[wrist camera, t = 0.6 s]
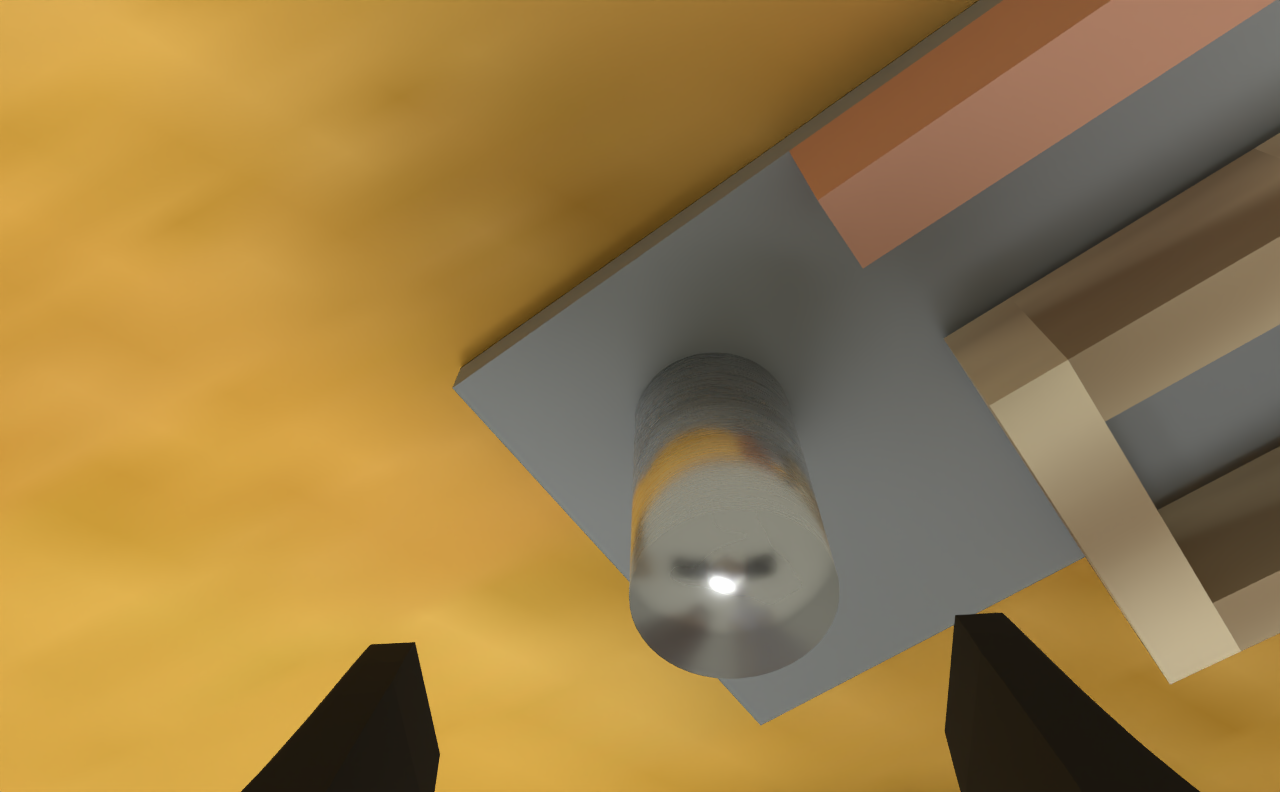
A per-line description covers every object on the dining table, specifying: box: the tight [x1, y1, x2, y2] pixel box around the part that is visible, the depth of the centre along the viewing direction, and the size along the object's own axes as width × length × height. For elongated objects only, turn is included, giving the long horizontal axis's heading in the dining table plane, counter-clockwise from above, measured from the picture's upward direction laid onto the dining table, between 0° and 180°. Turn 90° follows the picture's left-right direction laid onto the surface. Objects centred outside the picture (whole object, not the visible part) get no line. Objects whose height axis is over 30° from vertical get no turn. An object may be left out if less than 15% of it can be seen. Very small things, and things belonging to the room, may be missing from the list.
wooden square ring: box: [943, 133, 1280, 684], centre depth 19 cm, size 8×8×3 cm
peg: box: [629, 352, 840, 679], centre depth 18 cm, size 3×3×6 cm
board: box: [453, 0, 1280, 725], centre depth 19 cm, size 12×18×4 cm, turn 126°
